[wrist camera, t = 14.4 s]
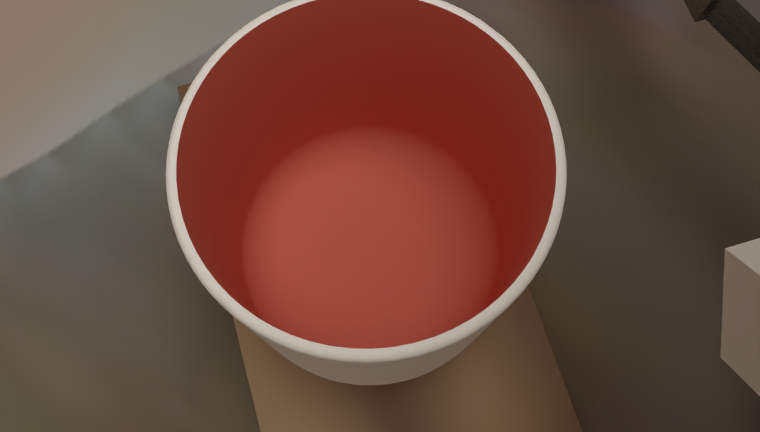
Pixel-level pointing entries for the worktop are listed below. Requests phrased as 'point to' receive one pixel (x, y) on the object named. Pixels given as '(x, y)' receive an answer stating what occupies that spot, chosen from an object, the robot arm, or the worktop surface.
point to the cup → (366, 182)
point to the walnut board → (423, 386)
